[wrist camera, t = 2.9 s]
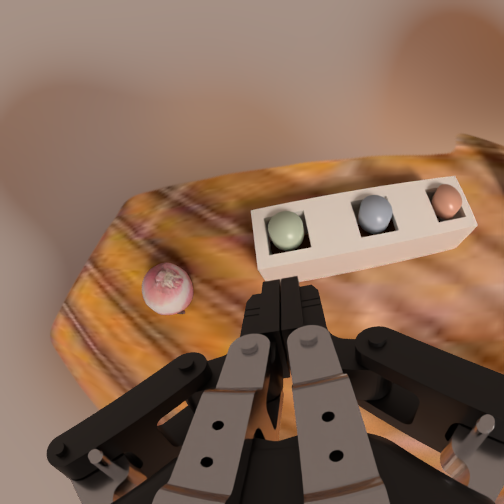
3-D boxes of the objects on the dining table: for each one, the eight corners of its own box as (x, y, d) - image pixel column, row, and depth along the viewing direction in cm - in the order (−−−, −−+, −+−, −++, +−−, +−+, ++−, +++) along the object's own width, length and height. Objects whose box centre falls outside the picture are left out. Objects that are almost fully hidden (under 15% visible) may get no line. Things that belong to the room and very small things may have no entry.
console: (438, 204, 37) (455, 176, 30) (455, 248, 34) (477, 225, 27) (262, 236, 42) (250, 210, 35) (269, 287, 39) (257, 269, 32)
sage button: (300, 218, 34) (299, 208, 32) (306, 247, 32) (305, 238, 30) (269, 224, 35) (265, 214, 32) (274, 253, 33) (270, 245, 31)
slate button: (382, 203, 32) (386, 192, 30) (392, 230, 30) (397, 221, 28) (354, 208, 33) (356, 197, 30) (362, 236, 31) (365, 227, 29)
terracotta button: (448, 192, 30) (454, 182, 28) (459, 217, 29) (466, 208, 26) (426, 196, 31) (432, 185, 29) (437, 221, 29) (444, 212, 27)
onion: (207, 286, 42) (197, 286, 35) (179, 323, 42) (163, 331, 34) (169, 254, 43) (152, 249, 36) (142, 292, 42) (122, 293, 35)
